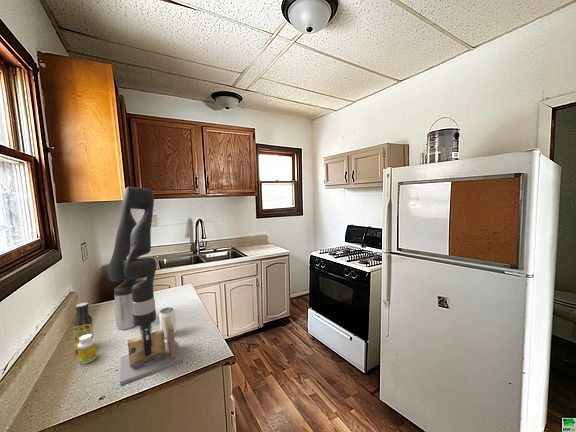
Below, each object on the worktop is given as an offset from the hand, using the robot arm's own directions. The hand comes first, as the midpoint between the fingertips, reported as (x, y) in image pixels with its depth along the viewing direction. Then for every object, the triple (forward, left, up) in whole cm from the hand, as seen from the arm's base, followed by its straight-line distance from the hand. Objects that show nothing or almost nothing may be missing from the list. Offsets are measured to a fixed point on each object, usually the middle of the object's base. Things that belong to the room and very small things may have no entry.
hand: (147, 352), depth 95 cm
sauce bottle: (-34, -3, -4) cm, 34 cm away
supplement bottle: (-25, -7, -4) cm, 26 cm away
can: (-8, +17, -4) cm, 19 cm away
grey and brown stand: (0, 0, -4) cm, 4 cm away
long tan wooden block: (0, 0, -2) cm, 2 cm away
